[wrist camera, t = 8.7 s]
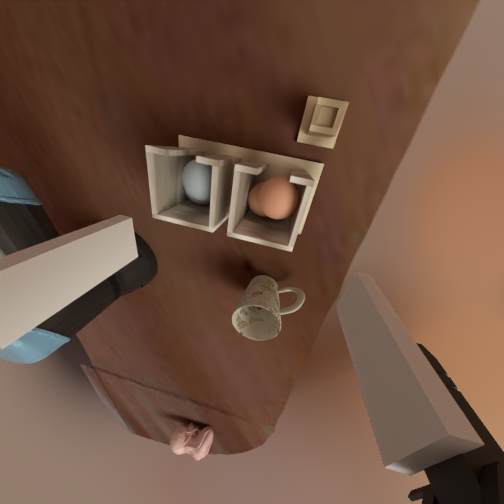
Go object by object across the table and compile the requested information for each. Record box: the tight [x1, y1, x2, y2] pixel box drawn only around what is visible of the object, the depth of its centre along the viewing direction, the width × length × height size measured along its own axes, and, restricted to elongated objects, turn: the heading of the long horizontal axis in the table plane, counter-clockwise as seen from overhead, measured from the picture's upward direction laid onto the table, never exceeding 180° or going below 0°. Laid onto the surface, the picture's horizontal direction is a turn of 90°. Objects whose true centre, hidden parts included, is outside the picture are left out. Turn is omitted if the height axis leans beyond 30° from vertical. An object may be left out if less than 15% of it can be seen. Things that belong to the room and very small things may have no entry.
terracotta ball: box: [258, 177, 299, 219], centre depth 22 cm, size 5×5×5 cm
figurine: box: [170, 422, 213, 460], centre depth 80 cm, size 11×12×18 cm
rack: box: [145, 135, 324, 252], centre depth 25 cm, size 22×11×11 cm, turn 80°
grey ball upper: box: [182, 159, 212, 201], centre depth 23 cm, size 5×5×5 cm
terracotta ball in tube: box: [248, 182, 267, 217], centre depth 27 cm, size 5×5×5 cm
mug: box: [232, 275, 305, 340], centre depth 34 cm, size 8×13×10 cm, turn 115°
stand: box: [297, 96, 349, 149], centre depth 22 cm, size 5×5×5 cm
